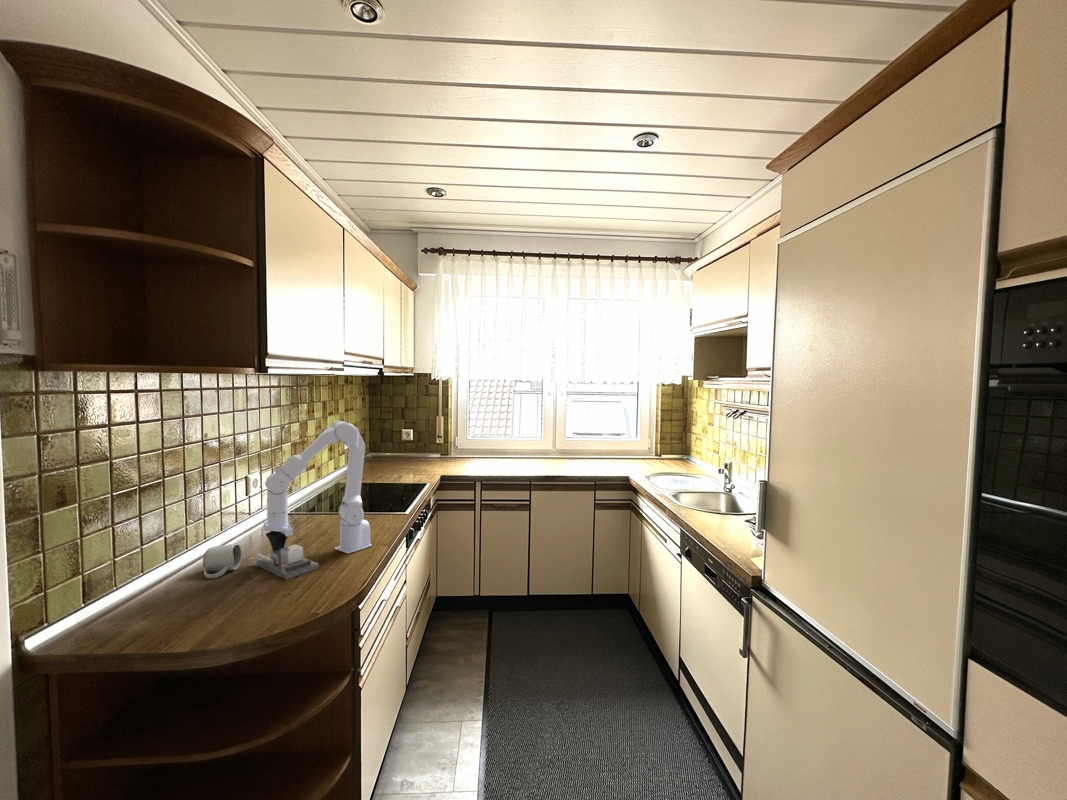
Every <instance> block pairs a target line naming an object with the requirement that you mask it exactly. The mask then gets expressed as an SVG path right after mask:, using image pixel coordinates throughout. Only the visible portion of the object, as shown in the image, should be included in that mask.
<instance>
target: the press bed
mask: <svg viewBox="0 0 1067 800" xmlns="http://www.w3.org/2000/svg"><path fill="white" fill-rule="evenodd" d="M255 557H256V563H255V564H256V565H257V566H256V567H258V566H259V568H260V567H261V569H262V568H263V570H265V571H267V572H269V573H271V572H272V573H271V574H273V573H274V574H273V575H275V574H276V575H275V576H278V577H280V578H282V579H284V580H290V579H293V578H296V577H298V576H301V575H304V574H307V573H310V572H312V571H315V570H318V569H320V563H319V562H316V561H313V560H311V559H308V558H306V557H304V556H303V561H302V562H298V563H295V564H292V565H289V566H286V567H285V566H283V565H281V563H279V564H275V563H274V560H273V559H271V558H270V556H266V555H264V554H261V553H257V554H256V556H255Z"/></svg>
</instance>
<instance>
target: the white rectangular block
mask: <svg viewBox="0 0 1067 800" xmlns="http://www.w3.org/2000/svg"><path fill="white" fill-rule="evenodd" d="M303 557H304V546H301V545H298V544H296V543H295V544H292V545H289V546H284V548H281V565H283V566H285V567H286V566H289V565H292V564H295V563H298V562H302V561H303Z"/></svg>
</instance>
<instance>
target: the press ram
mask: <svg viewBox="0 0 1067 800" xmlns="http://www.w3.org/2000/svg"><path fill="white" fill-rule="evenodd" d="M269 555H270V556H269V557H270V558H271V559H273V560H274V563H275V564H279V563H281V549H278V550H275V551H273V550H271V551H269Z"/></svg>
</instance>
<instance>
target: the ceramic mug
mask: <svg viewBox="0 0 1067 800" xmlns="http://www.w3.org/2000/svg"><path fill="white" fill-rule="evenodd" d="M241 561H242V549H241V545H240V544H238V543H232V544H224V545H217V546H212V547H209V548H207V549H206V551H205V552H204V553H203V558H202V565H203V568H204V569H203V575H204V577H205V578H207V579H210V578H211V579H217V578H219V577H221V576H223V575H224V574H225V573H226V572H227V571H236V570H237V569H238V568H239V567H240V565H241ZM208 572H216V573H213V574H209V573H208ZM211 579H210V580H211Z"/></svg>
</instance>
